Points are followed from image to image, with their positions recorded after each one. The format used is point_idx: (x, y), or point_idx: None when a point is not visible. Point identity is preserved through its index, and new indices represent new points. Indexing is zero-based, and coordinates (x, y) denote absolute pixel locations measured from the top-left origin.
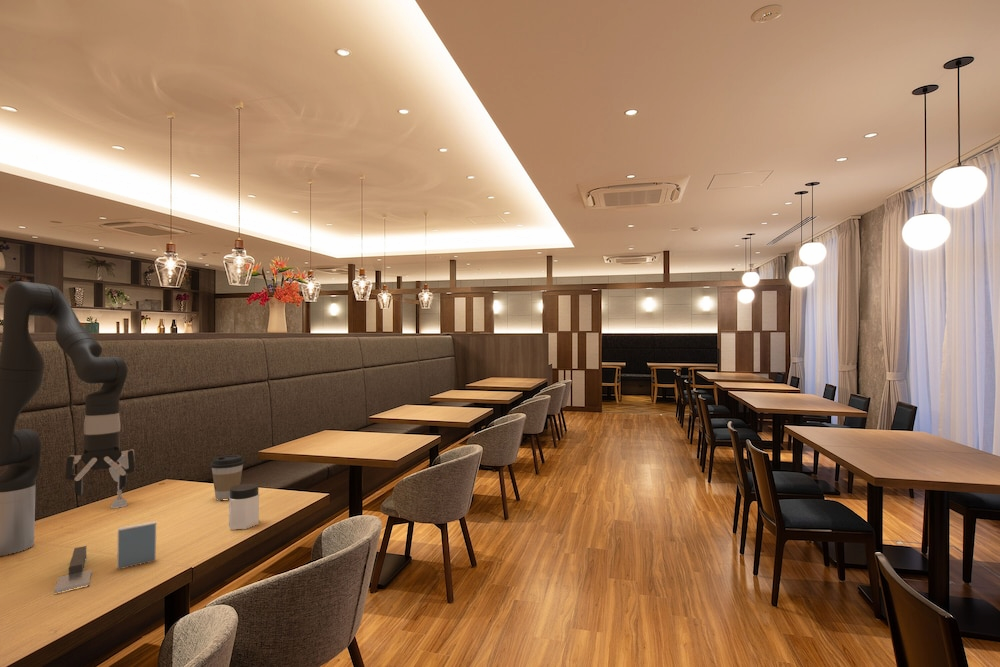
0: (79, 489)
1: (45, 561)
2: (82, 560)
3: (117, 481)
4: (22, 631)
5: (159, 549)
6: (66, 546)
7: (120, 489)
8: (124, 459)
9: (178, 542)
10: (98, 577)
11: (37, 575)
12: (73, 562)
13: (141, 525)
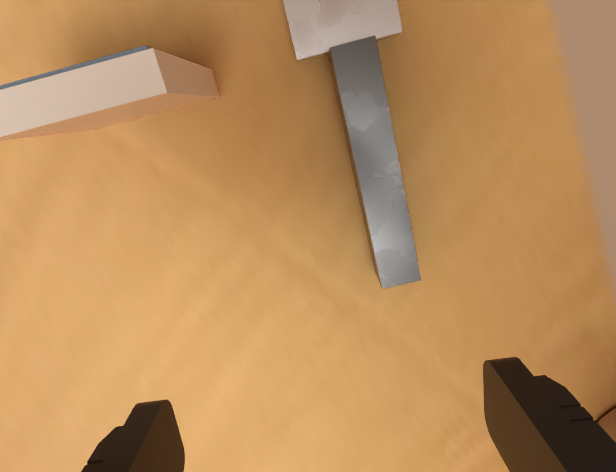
0: (527, 388)
1: (504, 283)
2: (343, 102)
3: None
4: None
5: (117, 233)
6: (474, 407)
7: (158, 401)
8: None
9: (68, 282)
10: (256, 6)
11: (493, 144)
12: (373, 92)
13: (31, 82)
